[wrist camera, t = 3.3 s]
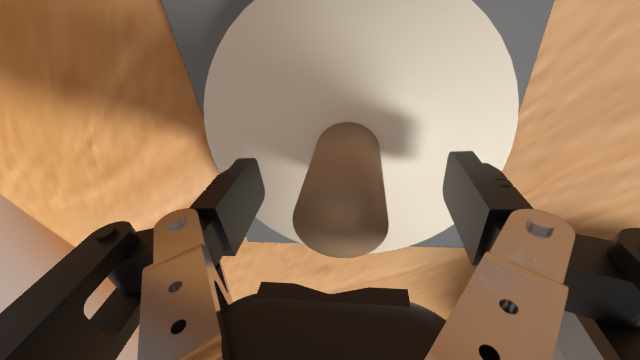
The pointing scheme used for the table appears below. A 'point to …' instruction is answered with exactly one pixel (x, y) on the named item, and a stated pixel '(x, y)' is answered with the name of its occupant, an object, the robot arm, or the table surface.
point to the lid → (359, 113)
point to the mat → (228, 3)
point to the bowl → (574, 341)
